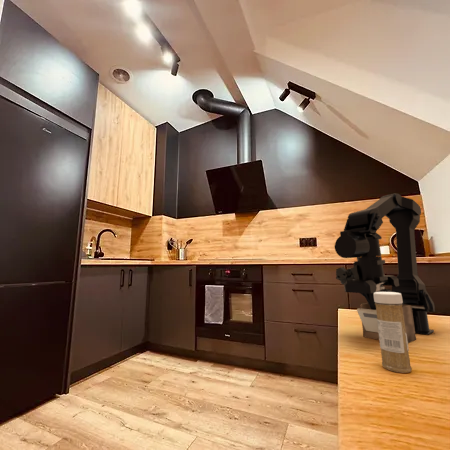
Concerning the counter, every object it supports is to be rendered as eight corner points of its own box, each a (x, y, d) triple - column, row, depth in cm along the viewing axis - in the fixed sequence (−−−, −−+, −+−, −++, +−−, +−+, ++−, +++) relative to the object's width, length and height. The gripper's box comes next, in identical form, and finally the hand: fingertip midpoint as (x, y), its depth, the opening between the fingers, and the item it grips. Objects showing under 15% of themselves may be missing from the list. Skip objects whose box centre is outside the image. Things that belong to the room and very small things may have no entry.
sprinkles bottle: (416, 370, 44) (405, 292, 47) (405, 376, 42) (394, 293, 44) (388, 362, 48) (380, 291, 50) (376, 367, 45) (368, 292, 48)
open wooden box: (376, 332, 72) (373, 302, 73) (416, 339, 64) (411, 305, 66) (363, 336, 67) (360, 304, 69) (404, 344, 60) (400, 308, 61)
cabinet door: (366, 328, 67) (357, 308, 66) (400, 333, 61) (391, 311, 60) (365, 331, 67) (356, 311, 65) (399, 337, 60) (390, 315, 59)
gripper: (355, 257, 78) (361, 308, 75) (321, 259, 67) (328, 319, 64) (395, 255, 69) (404, 313, 67) (364, 257, 58) (374, 327, 55)
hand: (377, 317), depth 63 cm, fingers closed, pressing on cabinet door
